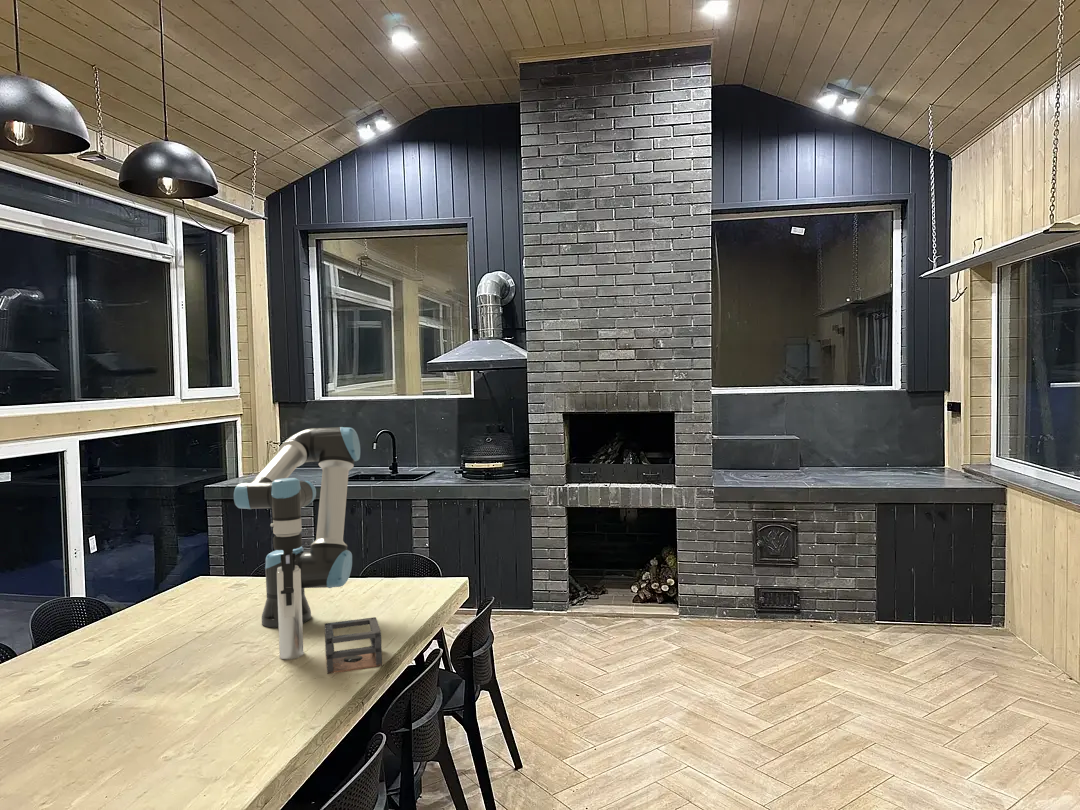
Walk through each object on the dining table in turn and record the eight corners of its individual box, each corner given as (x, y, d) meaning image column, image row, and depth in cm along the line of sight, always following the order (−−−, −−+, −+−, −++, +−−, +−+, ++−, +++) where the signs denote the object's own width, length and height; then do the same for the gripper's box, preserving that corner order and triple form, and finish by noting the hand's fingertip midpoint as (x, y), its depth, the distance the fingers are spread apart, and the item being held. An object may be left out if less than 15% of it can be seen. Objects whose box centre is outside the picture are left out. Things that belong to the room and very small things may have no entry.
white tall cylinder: (296, 660, 195) (292, 569, 195) (274, 659, 197) (271, 569, 196) (308, 651, 202) (305, 564, 201) (287, 650, 203) (284, 563, 202)
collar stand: (325, 655, 198) (324, 623, 198) (376, 648, 203) (375, 617, 202) (327, 674, 185) (326, 639, 185) (382, 666, 189) (380, 632, 189)
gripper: (274, 527, 209) (277, 599, 209) (271, 543, 185) (273, 624, 186) (301, 525, 211) (303, 596, 212) (301, 541, 188) (304, 620, 188)
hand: (289, 609), depth 199 cm, fingers open, 13 cm apart
